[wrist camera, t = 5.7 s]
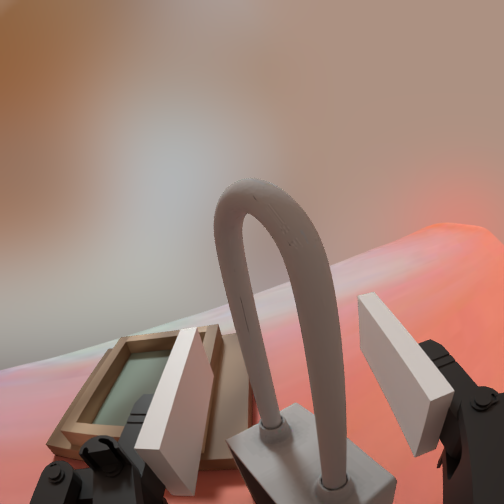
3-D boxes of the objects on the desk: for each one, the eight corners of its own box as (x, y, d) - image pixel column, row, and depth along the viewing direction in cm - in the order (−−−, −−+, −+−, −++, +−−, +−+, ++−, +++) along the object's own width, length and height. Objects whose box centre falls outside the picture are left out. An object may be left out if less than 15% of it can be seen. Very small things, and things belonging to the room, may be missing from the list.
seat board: (54, 454, 15) (34, 430, 14) (112, 358, 28) (102, 336, 28) (251, 467, 14) (240, 441, 13) (252, 341, 27) (246, 316, 27)
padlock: (243, 497, 12) (124, 206, 8) (308, 460, 14) (253, 172, 10) (317, 582, 6) (203, 209, 2) (391, 528, 8) (456, 153, 4)
